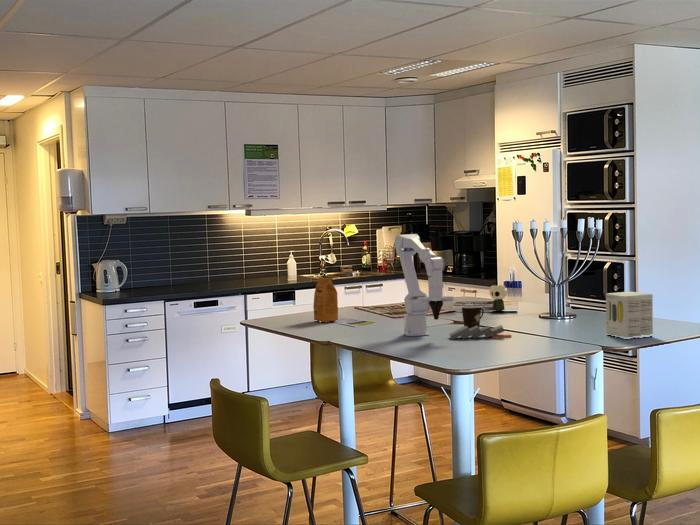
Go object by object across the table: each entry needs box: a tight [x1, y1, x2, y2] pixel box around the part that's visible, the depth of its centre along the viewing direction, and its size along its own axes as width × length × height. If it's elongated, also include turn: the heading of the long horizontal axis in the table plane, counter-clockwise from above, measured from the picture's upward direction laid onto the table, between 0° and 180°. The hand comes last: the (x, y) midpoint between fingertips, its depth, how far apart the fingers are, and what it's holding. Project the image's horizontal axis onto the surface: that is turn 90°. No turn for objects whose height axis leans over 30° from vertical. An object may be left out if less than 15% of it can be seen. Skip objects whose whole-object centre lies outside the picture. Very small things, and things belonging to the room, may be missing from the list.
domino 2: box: [470, 325, 492, 340], centre depth 348 cm, size 2×5×8 cm
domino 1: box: [460, 325, 481, 340], centre depth 348 cm, size 2×5×8 cm
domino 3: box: [484, 324, 505, 339], centre depth 347 cm, size 2×5×8 cm
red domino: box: [490, 332, 512, 339], centre depth 349 cm, size 2×5×8 cm
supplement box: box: [605, 291, 654, 337], centre depth 339 cm, size 13×13×18 cm
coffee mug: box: [461, 305, 485, 329], centre depth 371 cm, size 12×9×10 cm
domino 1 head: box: [448, 325, 470, 340], centre depth 347 cm, size 2×5×8 cm
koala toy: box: [489, 285, 508, 312], centre depth 427 cm, size 11×7×13 cm, turn 42°
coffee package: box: [312, 275, 339, 323], centre depth 409 cm, size 10×12×22 cm
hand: (436, 319), depth 346 cm, fingers closed
